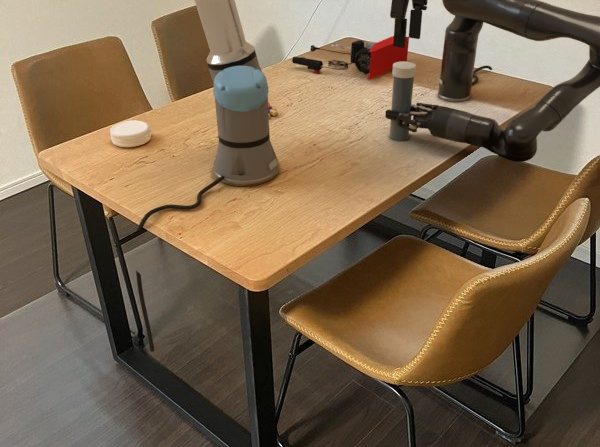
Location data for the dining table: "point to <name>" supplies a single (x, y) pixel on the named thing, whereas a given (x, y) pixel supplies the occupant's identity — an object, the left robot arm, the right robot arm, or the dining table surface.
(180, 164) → the dining table surface
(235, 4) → the left robot arm
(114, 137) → the white round container
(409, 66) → the lid
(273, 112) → the toy figure
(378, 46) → the electric hoist
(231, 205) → the dining table surface
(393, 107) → the grey cylinder
